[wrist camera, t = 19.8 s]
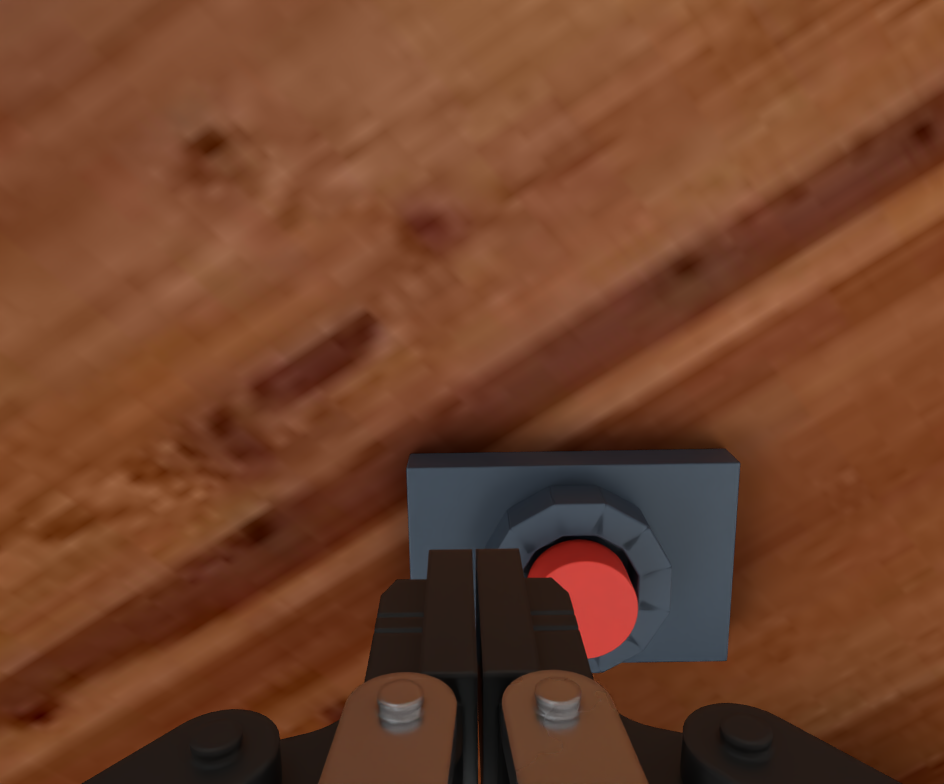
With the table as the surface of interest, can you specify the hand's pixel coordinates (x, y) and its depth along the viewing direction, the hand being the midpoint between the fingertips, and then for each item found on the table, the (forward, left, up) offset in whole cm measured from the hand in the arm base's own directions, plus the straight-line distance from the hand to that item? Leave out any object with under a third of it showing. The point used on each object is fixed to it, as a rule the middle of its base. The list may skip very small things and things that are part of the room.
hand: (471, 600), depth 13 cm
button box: (+4, -7, -16) cm, 18 cm away
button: (+4, -7, -13) cm, 15 cm away
